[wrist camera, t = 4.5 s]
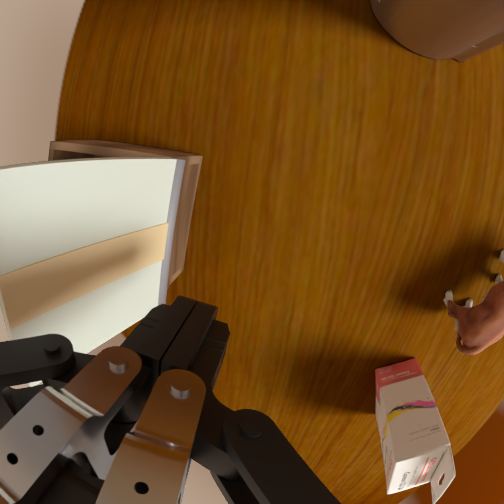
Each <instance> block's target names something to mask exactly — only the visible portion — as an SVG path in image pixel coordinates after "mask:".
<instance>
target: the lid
mask: <svg viewBox="0 0 504 504" xmlns="http://www.w3.org/2000/svg"><path fill="white" fill-rule="evenodd" d="M185 163H186V160H185V159H181V158H173V157H106V158H83V159H66V160H53V161H42V162H33V163H24V164H15V165H9V166H1V167H0V306H1V310H2V314H3V318H4V321H5V325H6V328H7V331H8V335H9V338H10V341H11V340H17V339H23V338H29V337H35V336H40V335H46V334H60V335H63V336H65V337H67V338H68V339H69V340H70V341H71V343H72V345H73V350H74V352H79V353H84V354H87V353H88V352H90V351H91V350H93V349H94V348H96V347H98V346H99V345H101V344H102V343H104V342H106V341H107V340H109V339H110V338H112V337H114V336H115V335H117V334H118V333H120V332H122V331H123V330H125V329H126V328H128V327H130V326H131V325H133V324H134V323H136V322H138V321H139V320H141V319H142V318H144V317H145V316H146V315H147V314H148V313H149V311H150V310H151V309H152V308H154V307H156V306H158V305H161V304H166V295H167V285H168V275H169V266H170V258H171V250H172V242H173V235H174V228H175V221H176V215H177V208H178V202H179V196H180V190H181V184H182V179H183V173H184V168H185ZM40 382H42V380H41V381H36V382H31V383H28V384H29V386H30V387H32V386H36V385H37V384H39V383H40Z"/></svg>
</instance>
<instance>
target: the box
mask: <svg viewBox="0 0 504 504" xmlns="http://www.w3.org/2000/svg"><path fill="white" fill-rule="evenodd" d="M106 157H173V158H181V159H185V160H186V163H185V168H184V173H183V179H182V184H181V190H180V196H179V202H178V208H177V215H176V221H175V228H174V235H173V242H172V250H171V258H170V266H169V275H168V285H167V287H168V286H169V285H170V284H171V283H172V282H173V281H174V280H175V279H176V277H177V276H178V275H179V274H180V273H181V272H182V271H183V268H184V261H185V254H186V247H187V241H188V235H189V228H190V222H191V216H192V211H193V205H194V199H195V194H196V189H197V183H198V178H199V173H200V168H201V163H202V158H203V156H202V155H197V154H191V153H186V152H180V151H175V150H169V149H163V148H156V147H150V146H143V145H136V144H129V143H121V142H113V141H104V140H65V141H51V142H50V149H49V159H48V161H53V160H66V159H83V158H106Z"/></svg>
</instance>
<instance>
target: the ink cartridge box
mask: <svg viewBox="0 0 504 504" xmlns="http://www.w3.org/2000/svg"><path fill="white" fill-rule="evenodd" d="M375 375H376V418H377V423H378V428H379V434H380V440H381V446H382V452H383V459H384V467H385V474H386V482H387V494H392V493H396V492H399V491H403V490H406V489H409V488H413V487H416V486H419V485H422V484H425V483H428V482H431V489H432V501H433V504H435V503H436V502H437V500H438V499H439V498H440V497H441V495H442V494H443V493H444V492H445V490H446V489H447V488H448V486H449V485H450V483H451V482H452V480H453V479H454V478H455V466H454V461H453V456H452V451H451V446H450V441H449V438H448V435H447V432H446V430H445V427H444V424H443V422H442V419H441V417H440V414H439V411H438V409H437V406H436V404H435V401H434V398H433V396H432V394H431V391H430V389H429V386H428V384H427V382H426V380H425V377H424V375H423V373H422V371H421V368H420V366H419V364H418V362H417V360H416V358H414V359H411V360H407V361H404V362H400V363H397V364H393V365H389V366H385V367H381V368H377V369H375ZM444 473H445V476H444V480H443V481H442V485H440V486H439V480H440V478H441V477H442V475H443V474H444Z"/></svg>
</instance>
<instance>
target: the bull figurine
mask: <svg viewBox="0 0 504 504" xmlns="http://www.w3.org/2000/svg"><path fill="white" fill-rule="evenodd" d="M499 260H500V261H502V262H504V249H503V250H501V255H500V259H499ZM495 281H496V282H495V285H494V286H493V287H492V288H491V289H490V290H489V291H488V292H487V293H486V295H485V296H484V297H483V300H482V302H481V303H480V304H478V305H477V306H475V307H472V302H473V299H471V298H469V299H468V300H467V301H466V305H465V306H460V305H457V304H456V303H454V301H453V293H452V290H448V291H447V292H446V293H445V297H446V298H444V299H443V301H444V303H445V304H446V306H447V308H448V315H449V316H450V317H454V318H456V319H455V322H454V323H455V328H456V331H457V334H458V337H457V341H456V344H457V348H458V349H459V350H460V351H461V352H463V353H466V354H470V355H475V354H478V353H480V352H481V351H483V350H484V349H485V348H487V347H488V346H490V345H491V344H493V343H495V342H497V341H498V340H499V339H500V338H501V337H502V336H503V335H504V280H503V279H502V276H501V274H498V275H497V277H496V279H495ZM461 339H462V341H463V345H464V346H463V345H461V343H460V340H461Z"/></svg>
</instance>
